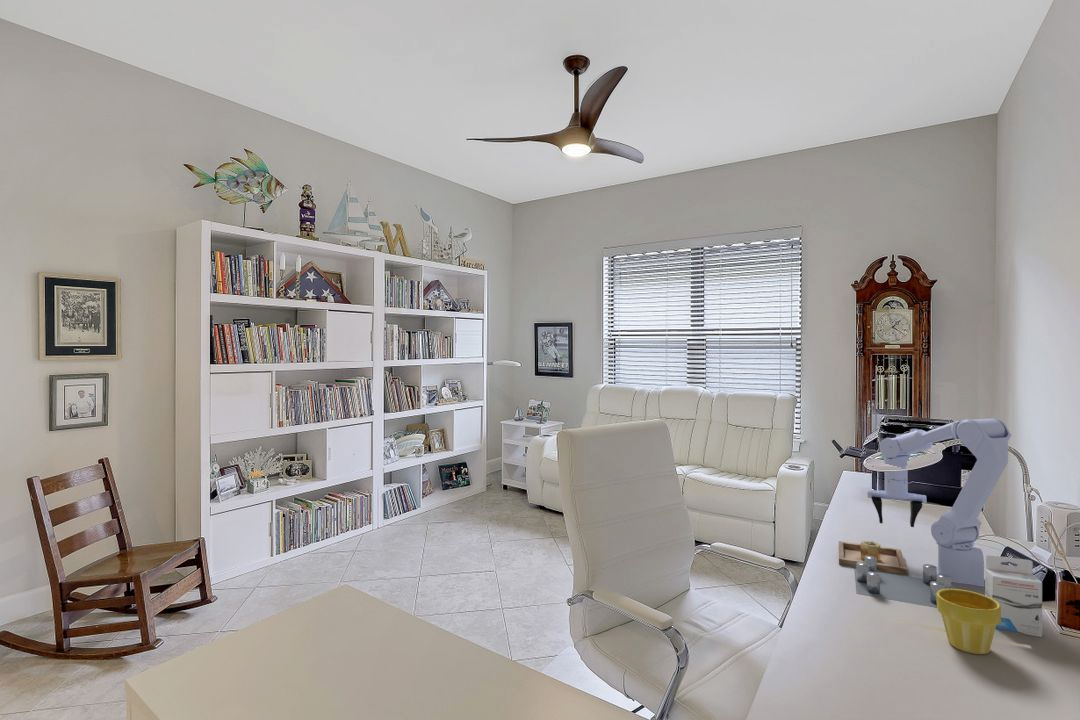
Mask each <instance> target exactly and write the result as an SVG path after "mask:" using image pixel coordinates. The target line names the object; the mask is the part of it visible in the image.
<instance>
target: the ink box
mask: <svg viewBox="0 0 1080 720" xmlns="http://www.w3.org/2000/svg"><path fill="white" fill-rule="evenodd" d="M985 557H986V559H985V560H986V561H985V562H986V565H985V567H986V568H984V585H985V586H984V587H985V588H984V595H985V596H987V597H990V598H992V599H994V600H995V601H997V602H998V603H999V604H1000V606H1001V621H1000V623H999V624H998V625H996V628H995V629H999V630H1006V631H1011V632H1017V633H1019V632H1020V633H1022V635H1026V636H1033V637H1038V638H1039V637H1040V638H1042V637H1043V582H1042V581H1041V580H1040V579H1039V578H1038V577H1037V576H1036V575H1034V574H1033V565H1034V562H1033V561H1032V560H1031V559H1024V558H1015V557H1007V556H1002V555H1001V556H999V555H990V554H989V555H986V556H985ZM1002 563H1011V564H1016V565H1006V564H1002Z"/></svg>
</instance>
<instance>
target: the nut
mask: <svg viewBox="0 0 1080 720" xmlns="http://www.w3.org/2000/svg"><path fill="white" fill-rule="evenodd" d="M860 544H861V559H863V560H865V556H873V557H876V558H877V562H879V561H880V560H881V554H880V547H881V543H878V542H875V541H873V540H862V541H861V542H860Z"/></svg>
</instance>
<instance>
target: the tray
mask: <svg viewBox="0 0 1080 720" xmlns="http://www.w3.org/2000/svg"><path fill="white" fill-rule="evenodd" d="M880 554H881V560H880V561H879V562H877V571H878V572H884V573H891V574H897V575H904V576H908V568H907V565H906V562H905V558H904V555H903V552H902V550H901V549H900V548H892V547H886V546H885V547H884V546H880ZM857 562H863V563H865V560H863V559H861V543H856V542H855V543H853V542H848V541H841V540H838V565H839V566H846V567H852V568H853V567H854V568H856V563H857Z"/></svg>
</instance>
